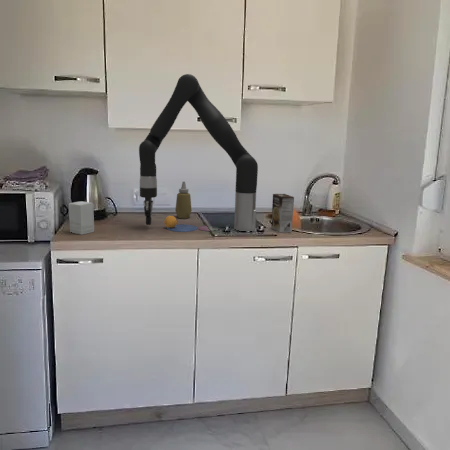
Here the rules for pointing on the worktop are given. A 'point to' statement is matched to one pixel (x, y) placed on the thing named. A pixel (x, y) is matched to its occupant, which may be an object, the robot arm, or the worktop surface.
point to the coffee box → (282, 212)
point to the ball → (170, 221)
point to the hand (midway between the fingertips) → (148, 224)
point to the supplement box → (81, 217)
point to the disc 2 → (203, 228)
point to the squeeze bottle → (183, 203)
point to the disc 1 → (183, 228)
